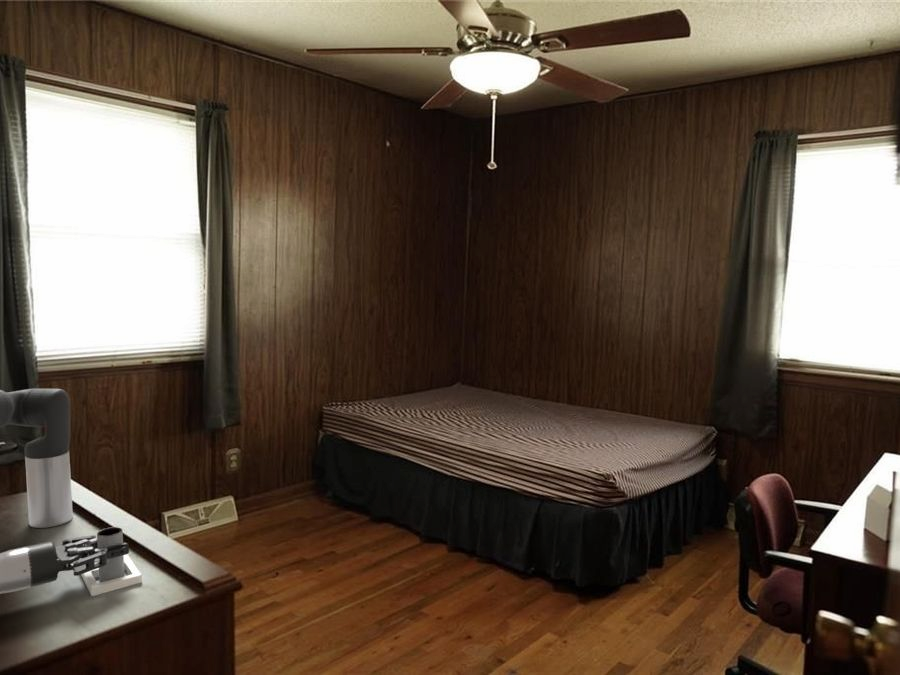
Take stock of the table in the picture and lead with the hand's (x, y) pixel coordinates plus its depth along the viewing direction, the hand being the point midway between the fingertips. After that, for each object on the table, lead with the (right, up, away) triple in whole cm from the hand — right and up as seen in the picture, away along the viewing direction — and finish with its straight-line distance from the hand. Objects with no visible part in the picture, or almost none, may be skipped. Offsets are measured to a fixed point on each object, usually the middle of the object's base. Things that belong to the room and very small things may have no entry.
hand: (124, 543), depth 132 cm
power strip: (-8, -6, +6) cm, 12 cm away
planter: (-2, -7, -1) cm, 8 cm away
